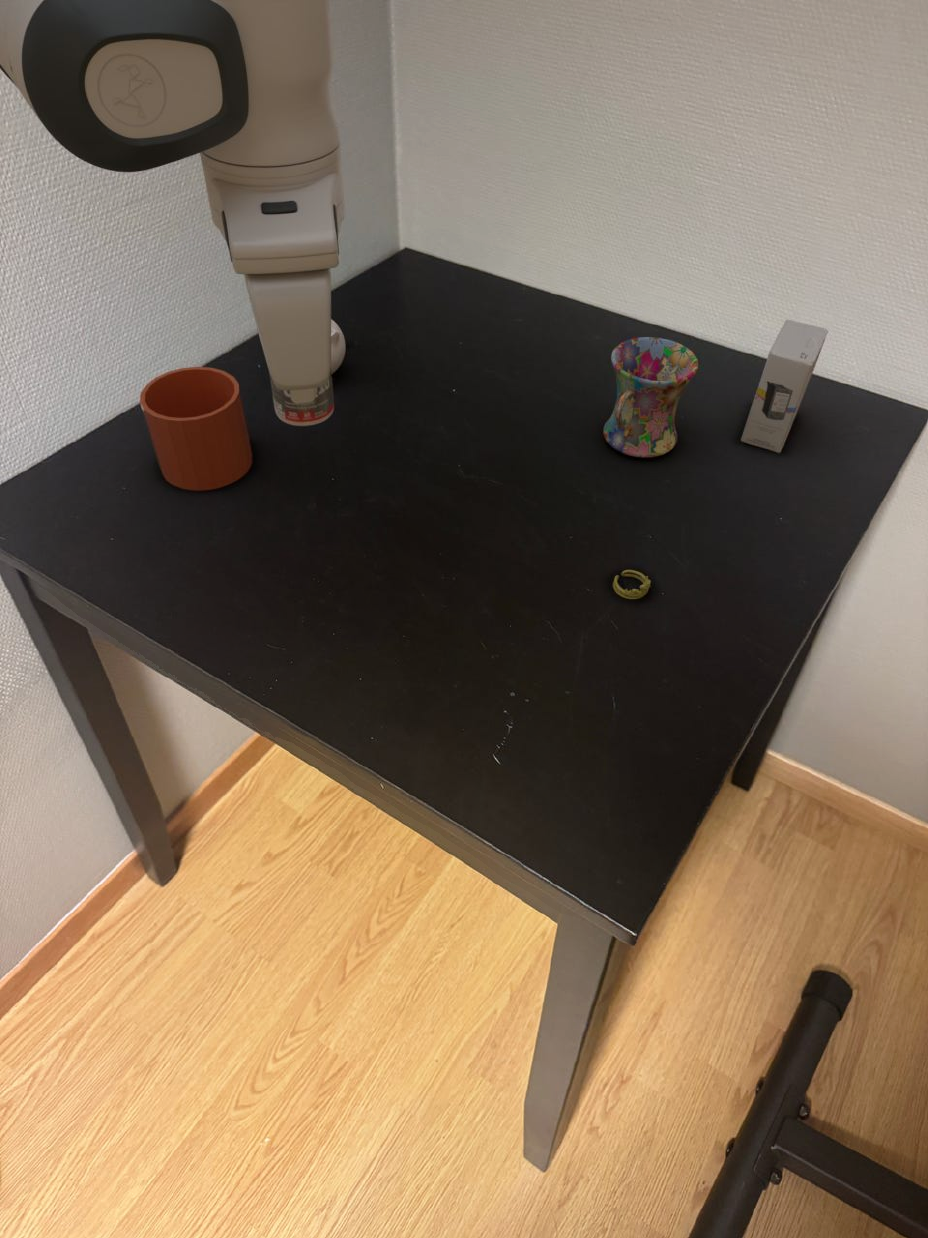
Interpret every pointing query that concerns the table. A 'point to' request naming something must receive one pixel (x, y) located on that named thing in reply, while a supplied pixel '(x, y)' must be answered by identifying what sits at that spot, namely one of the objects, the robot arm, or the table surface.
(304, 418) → the pill bottle
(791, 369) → the ink box
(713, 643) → the table surface
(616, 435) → the mug
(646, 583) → the ring
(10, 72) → the robot arm
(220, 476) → the cup
